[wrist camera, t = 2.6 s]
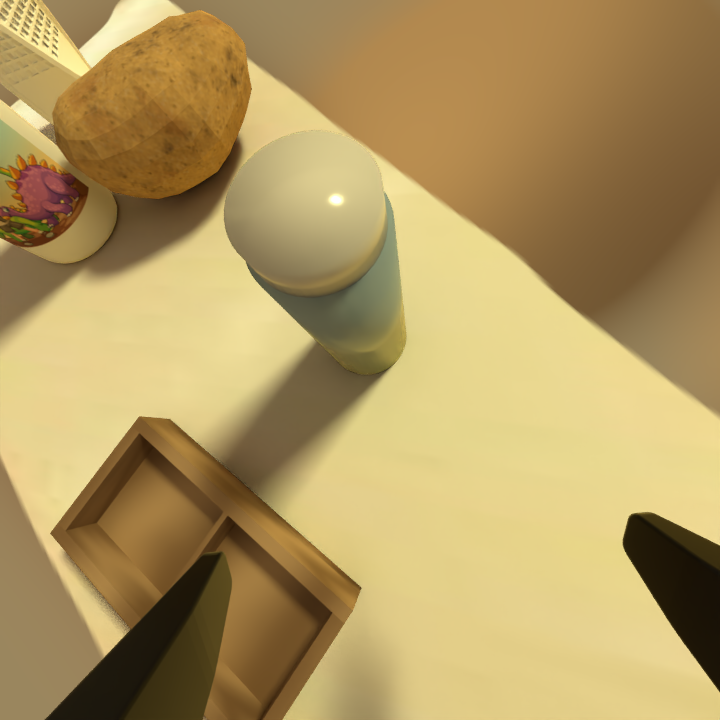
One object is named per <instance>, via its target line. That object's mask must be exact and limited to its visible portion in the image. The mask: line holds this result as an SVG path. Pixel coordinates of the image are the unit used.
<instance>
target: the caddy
mask: <svg viewBox="0 0 720 720" xmlns="http://www.w3.org/2000/svg"><path fill="white" fill-rule="evenodd" d="M50 534H51V535H52V536H53V537H54V538H55V540H56V541H57V542H58V543H59V544H60V546H61V547H62V548H63V549H64V550H65V551H66V553H67V554H68V555H69V556H70V557H71V559H72V560H73V561H74V562H75V563H76V564H77V566H78V567H79V568H80V569H81V570H82V572H83V573H84V574H85V575H86V576H87V577H88V579H89V580H90V581H91V582H92V583H93V585H94V586H95V587H96V588H97V589H98V590H99V592H100V593H101V594H102V595H103V596H104V598H105V599H106V600H107V601H108V602H109V603H110V605H111V606H112V607H113V608H114V609H115V611H116V612H117V613H118V614H119V615H120V616H121V618H122V619H123V620H124V621H125V622H126V624H127V625H128V626H129V627H130V628H131V629H132V628H133V627H134V626H135V625H136V624H137V623H138V621H139V620H140V619H141V618H142V617H143V616H144V615H145V614H146V613H147V612H148V611H149V610H150V609H151V608H152V607H153V606H154V605H155V604H156V603H157V602H158V600H159V599H160V598H161V597H162V596H163V595H164V594H165V593H166V592H167V591H168V590H169V589H170V588H171V587H172V586H173V585H174V584H175V583H176V582H177V581H178V579H179V578H180V577H181V576H182V575H183V574H184V573H185V572H186V571H187V570H188V569H189V568H190V567H191V566H192V565H193V564H194V563H195V562H196V561H197V560H198V559H199V557H200V556H202V555H203V554H204V553H207V552H217V551H223V552H224V553H225V555H226V558H227V562H228V565H229V569H230V573H231V577H232V590H231V595H230V601H229V606H228V611H227V616H226V621H225V627H224V632H223V637H222V642H221V647H220V652H219V658H218V663H217V667H216V672H215V677H214V680H213V684H212V688H211V692H210V695H209V699H208V702H207V706H206V709H205V713H204V716H205V717H206V718H207V719H208V720H282V719H283V718H284V716H285V715H286V713H287V711H288V710H289V708H290V707H291V705H292V704H293V702H294V701H295V699H296V697H297V696H298V694H299V693H300V691H301V690H302V688H303V687H304V685H305V684H306V682H307V680H308V679H309V677H310V676H311V674H312V673H313V671H314V670H315V668H316V667H317V665H318V663H319V662H320V660H321V659H322V657H323V656H324V654H325V653H326V651H327V650H328V648H329V646H330V645H331V643H332V642H333V640H334V639H335V637H336V636H337V634H338V633H339V631H340V629H341V628H342V626H343V625H344V623H345V622H346V620H347V619H348V617H349V615H350V614H351V612H352V611H353V608H354V606H355V603H356V601H357V598H358V595H359V593H360V590H361V587H360V586H359V585H358V584H357V583H355V582H354V581H353V580H352V579H351V578H350V577H349V576H348V575H346V574H345V573H344V572H343V571H342V570H341V569H340V568H338V567H337V566H336V565H335V564H334V563H333V562H332V561H330V560H329V559H328V558H327V557H326V556H325V555H324V554H323V553H321V552H320V551H319V550H318V549H317V548H316V547H315V546H313V545H312V544H311V543H310V542H309V541H308V540H307V539H305V538H304V537H303V536H302V535H301V534H300V533H299V532H298V531H296V530H295V529H294V528H293V527H292V526H291V525H290V524H288V523H287V522H286V521H285V520H284V519H283V518H282V517H280V516H279V515H278V514H277V513H276V512H275V511H274V510H273V509H271V508H270V507H269V506H268V505H267V504H266V503H265V502H263V501H262V500H261V499H260V498H259V497H258V496H257V495H255V494H254V493H253V492H252V491H251V490H250V489H249V488H248V487H246V486H245V485H244V484H243V483H242V482H241V481H240V480H238V479H237V478H236V477H235V476H234V475H233V474H232V473H230V472H229V471H228V470H227V469H226V468H225V467H224V466H223V465H221V464H220V463H219V462H218V461H217V460H216V459H215V458H213V457H212V456H211V455H210V454H209V453H208V452H207V451H205V450H204V449H203V448H202V447H201V446H200V445H199V444H198V443H196V442H195V441H194V440H193V439H192V438H191V437H190V436H188V435H187V434H186V433H185V432H184V431H183V430H182V429H181V428H179V427H178V426H177V425H176V424H175V423H174V422H173V421H171V420H170V419H163V418H152V417H141V416H139V418H138V419H137V420H136V421H135V423H134V424H133V425H132V427H131V428H130V429H129V431H128V432H127V433H126V435H125V436H124V437H123V439H122V440H121V441H120V442H119V444H118V445H117V446H116V448H115V449H114V450H113V452H112V453H111V454H110V456H109V457H108V458H107V459H106V461H105V462H104V463H103V465H102V466H101V467H100V469H99V470H98V471H97V473H96V474H95V475H94V477H93V478H92V479H91V480H90V482H89V483H88V484H87V486H86V487H85V488H84V490H83V491H82V492H81V494H80V495H79V496H78V497H77V499H76V500H75V501H74V503H73V504H72V505H71V507H70V508H69V509H68V511H67V512H66V513H65V515H64V516H63V517H62V518H61V520H60V521H59V522H58V524H57V525H56V526H55V528H54V529H53V530H52V532H51V533H50Z"/></svg>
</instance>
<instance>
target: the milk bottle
mask: <svg viewBox="0 0 720 720" xmlns="http://www.w3.org/2000/svg"><path fill="white" fill-rule="evenodd" d="M116 219H117V205H116V201H115V199H114V197H113V195H112V193H111V192H110V190H109V189H107V188H105V187H104V186H102V185H100V184H99V183H97V182H95V181H94V180H92V179H90V178H89V177H88V176H86V175H85V174H84V173H82V172H81V171H80V170H78V169H77V168H76V167H74V166H73V165H71V164H70V163H69V162H68V161H67V159H66V158H65V156H64V155H63V153H62V152H61V150H60V149H59V148H58V146H57V145H56V144H54V143H53V142H52V141H51V140H49V139H48V138H47V137H46V136H45V135H43V134H42V133H41V132H40V131H38V130H37V129H36V128H35V127H34V126H32V125H31V124H30V123H29V122H27V121H26V120H25V119H24V118H23V117H21V116H20V115H19V114H18V113H16V112H15V111H14V110H13V109H11V108H10V107H9V106H8V105H6V104H5V103H4V102H3V101H1V100H0V238H2V239H4V240H6V241H8V242H10V243H12V244H14V245H16V246H18V247H20V248H22V249H24V250H26V251H29V252H31V253H33V254H35V255H37V256H39V257H41V258H44V259H46V260H48V261H51V262H55V263H64V264H67V263H75V262H78V261H81V260H83V259H85V258H87V257H89V256H91V255H92V254H94V253H95V252H96V251H97V250H98V249H99V248H101V247H102V246H103V245H104V243H105V242H106V241H107V240H108V238H109V236H110V235H111V233H112V231H113V229H114V226H115V224H116Z"/></svg>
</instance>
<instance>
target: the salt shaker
mask: <svg viewBox="0 0 720 720" xmlns="http://www.w3.org/2000/svg"><path fill="white" fill-rule="evenodd" d="M224 223H225V229H226V232H227V235H228V238H229V240H230V242H231V244H232V246H233V247H234V249H235V250H236V251H237V253H238V254H239V255H240V256H241V257H242V258H243V259H244V260H245V261H246V264H247V267H248V269H249V271H250V273H251V274H252V276H253V277H254V279H255V280H256V281H257V283H258V284H259V285H260V286H261V287H262V288H263V289H264V290H265V291H266V292H267V293H268V294H269V295H270V296H271V297H272V298H273V299H274V300H275V301H276V302H277V303H279V304H280V305H281V306H282V307H283V308H284V309H285V310H286V311H287V312H288V313H289V314H290V315H291V316H292V317H293V318H294V319H295V320H296V321H297V322H298V323H299V324H300V325H301V326H302V327H303V328H304V329H305V330H306V331H307V332H308V333H309V334H310V335H311V336H312V337H313V338H314V339H315V340H316V341H317V342H318V343H319V344H320V345H321V346H322V347H323V348H324V349H325V350H326V351H327V352H328V353H329V354H330V355H331V356H332V357H333V358H334V359H335V360H336V361H337V362H338V363H339V364H340V365H341V366H343V367H344V368H345V369H347V370H349V371H351V372H353V373H357V374H362V375H370V374H376V373H380V372H382V371H384V370H386V369H388V368H389V367H391V366H392V365H393V364H394V363H395V362H396V361H397V360H398V359H399V357H400V356H401V354H402V352H403V350H404V347H405V344H406V326H405V316H404V307H403V298H402V288H401V279H400V270H399V260H398V251H397V241H396V232H395V223H394V215H393V210H392V207H391V203H390V201H389V199H388V197H387V195H386V193H385V192H384V190H383V183H382V176H381V173H380V170H379V167H378V165H377V163H376V161H375V159H374V158H373V157H372V155H371V154H370V153H369V152H368V151H367V149H366V148H365V147H364V146H362V145H361V144H360V143H358V142H357V141H355V140H353V139H352V138H350V137H348V136H345V135H342V134H340V133H335V132H331V131H322V130H311V131H303V132H298V133H293V134H290V135H287V136H284V137H281V138H279V139H277V140H275V141H273V142H271V143H269V144H268V145H266V146H264V147H263V148H262V149H260V150H259V151H258V152H256V153H255V154H254V155H253V156H252V157H251V158H250V159H248V161H247V162H246V163H245V164H244V165H243V166H242V167H241V169H240V170H239V172H238V173H237V174H236V176H235V178H234V180H233V181H232V183H231V185H230V188H229V190H228V193H227V197H226V200H225V206H224Z"/></svg>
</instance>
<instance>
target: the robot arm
mask: <svg viewBox="0 0 720 720" xmlns="http://www.w3.org/2000/svg"><path fill="white" fill-rule="evenodd" d="M623 547H624V550H625V552H626V554H627V556H628V557H629V559H630V560H631V562H632V564H633V565H634V567H635V568H636V570H637V572H638V573H639V575H640V576H641V578H642V580H643V581H644V583H645V584H646V586H647V588H648V589H649V591H650V592H651V594H652V595H653V597H654V599H655V600H656V602H657V603H658V605H659V607H660V608H661V610H662V611H663V613H664V615H665V616H666V618H667V619H668V621H669V622H670V624H671V625H672V627H673V628H674V630H675V631H676V633H677V634H678V636H679V637H680V638H681V640H682V641H683V643H684V644H685V645H686V647H687V648H688V649H689V651H690V652H691V654H692V655H693V656H694V658H695V659H696V660H697V662H698V663H699V664H700V666H701V667H702V669H703V670H704V671H705V673H706V674H707V675H708V677H709V678H710V679H711V681H712V682H713V684H714V685H715V686H716V688H717V689H718V690H719V692H720V545H718V544H715V543H713V542H711V541H709V540H707V539H705V538H703V537H701V536H699V535H697V534H695V533H693V532H691V531H689V530H687V529H685V528H683V527H681V526H679V525H677V524H675V523H673V522H671V521H669V520H667V519H665V518H662V517H660V516H658V515H656V514H654V513H650V512H643V513H634V514H631V515H630V516H629V518H628V521H627V525H626V529H625V533H624V537H623ZM231 590H232V577H231V573H230V569H229V565H228V562H227V558H226V555H225V553H224V552H223V551H217V552H207V553H204V554H203V555H202V556H200V557H199V559H198V560H197V561H196V562H195V563H194V564H193V565H192V566H191V567H190V568H189V569H188V570H187V571H186V572H185V573H184V574H183V575H182V576H181V577H180V578H179V579H178V581H177V582H176V583H175V584H174V585H173V586H172V587H171V588H170V589H169V590H168V591H167V592H166V593H165V594H164V595H163V596H162V597H161V598H160V599H159V600H158V602H157V603H156V604H155V605H154V606H153V607H152V608H151V609H150V610H149V611H148V612H147V613H146V614H145V615H144V616H143V617H142V618H141V619H140V620H139V621H138V623H137V624H136V625H135V626H134V627H133V628H132V629H131V630H130V631H129V632H128V633H127V634H126V635H125V636H124V637H123V638H122V639H121V640H120V641H119V642H118V644H117V645H116V646H115V647H114V648H113V649H112V650H111V651H110V652H109V653H108V654H107V655H106V656H105V657H104V658H103V659H102V660H101V661H100V662H99V663H98V664H97V666H96V667H95V668H94V669H93V670H92V671H91V672H90V673H89V674H88V675H87V676H86V677H85V678H84V679H83V680H82V681H81V682H80V684H79V685H77V687H76V688H75V689H74V690H73V691H72V692H71V693H70V694H69V695H68V696H67V697H66V698H65V699H64V700H63V701H62V702H61V704H59V705H58V707H57V708H56V709H55V710H54V711H53V712H52V713H51V714H50V715H49V716H48V717H47V718H46V719H45V720H203V716H204V713H205V709H206V706H207V702H208V699H209V695H210V692H211V688H212V684H213V680H214V677H215V672H216V667H217V663H218V658H219V652H220V647H221V642H222V637H223V632H224V627H225V621H226V616H227V611H228V606H229V601H230V595H231Z"/></svg>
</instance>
